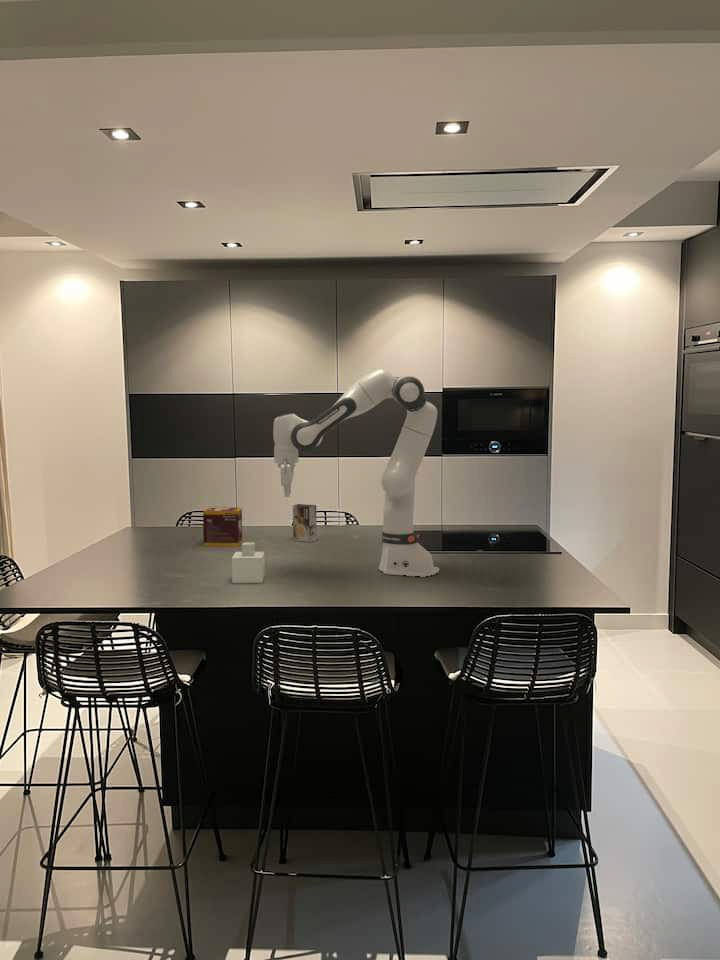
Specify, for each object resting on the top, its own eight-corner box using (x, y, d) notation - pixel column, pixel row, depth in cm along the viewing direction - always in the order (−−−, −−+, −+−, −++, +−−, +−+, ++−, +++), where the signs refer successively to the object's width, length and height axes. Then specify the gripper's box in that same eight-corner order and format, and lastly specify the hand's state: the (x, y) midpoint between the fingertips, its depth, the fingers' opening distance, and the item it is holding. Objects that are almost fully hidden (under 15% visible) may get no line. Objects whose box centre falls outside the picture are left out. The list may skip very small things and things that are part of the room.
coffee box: (317, 540, 334) (317, 504, 332) (309, 542, 329) (309, 506, 327) (300, 538, 338) (299, 503, 337) (292, 540, 333) (292, 505, 331)
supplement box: (238, 546, 319) (238, 510, 318) (203, 546, 320) (202, 510, 318) (243, 542, 330) (242, 507, 328) (208, 541, 330) (207, 507, 328)
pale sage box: (264, 575, 266) (264, 540, 265) (262, 582, 256) (261, 546, 255) (236, 576, 266) (235, 540, 264) (232, 583, 256) (231, 546, 254)
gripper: (293, 459, 263) (295, 498, 264) (295, 455, 283) (297, 491, 284) (276, 460, 262) (277, 499, 264) (279, 456, 283) (280, 492, 284)
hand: (287, 495), depth 274 cm, fingers open, 8 cm apart
